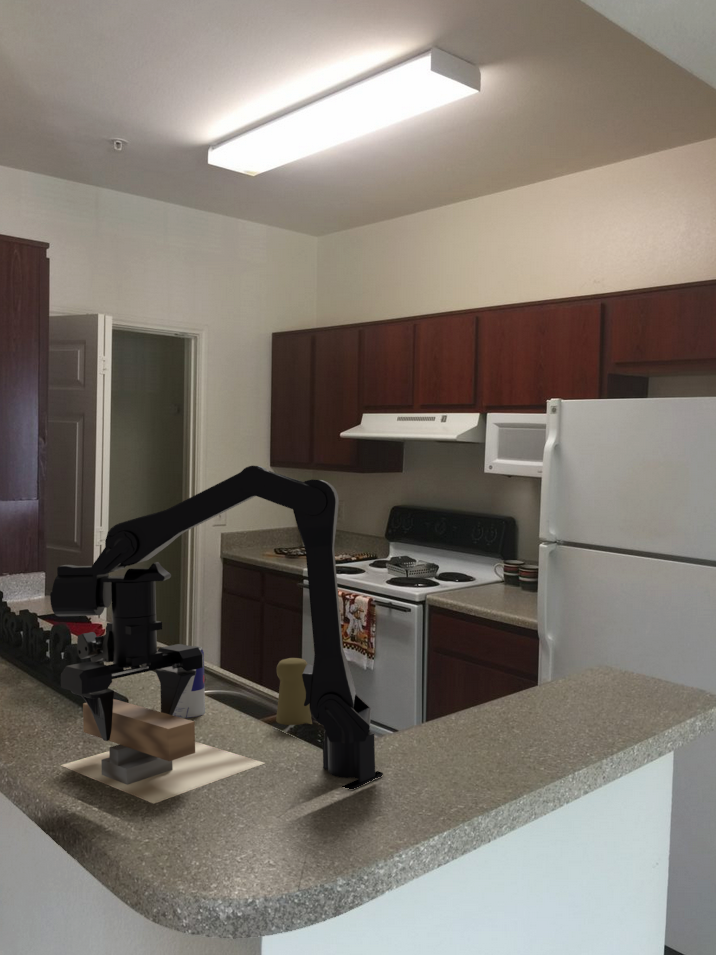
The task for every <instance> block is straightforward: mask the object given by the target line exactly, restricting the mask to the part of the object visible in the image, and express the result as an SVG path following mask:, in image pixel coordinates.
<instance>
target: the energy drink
mask: <svg viewBox="0 0 716 955" xmlns="http://www.w3.org/2000/svg"><path fill="white" fill-rule="evenodd" d="M193 646H194V647H198V648H199V649H200V651H201V652H202V654H203V668H199V669H194V671H196V675H195V676H192V677H191V678H190V680H189V682H188V684H187V686H186V688H185V690H184V691H183V693H182V695H181V697H180V700H179V702H178V704H177V706H176V709H175V711H174V713H173V716H177V717H180V718H184V719H190V718H196V717H201V716H203V715H205V714H206V693H205V690H206V689H205V652H204V650H203V647H202V646H197V645H193Z"/></svg>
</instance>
